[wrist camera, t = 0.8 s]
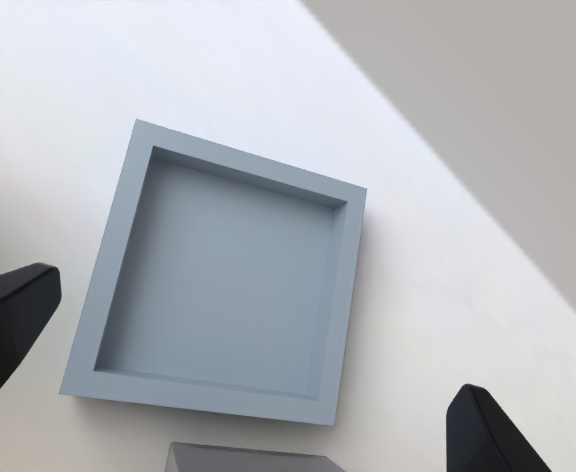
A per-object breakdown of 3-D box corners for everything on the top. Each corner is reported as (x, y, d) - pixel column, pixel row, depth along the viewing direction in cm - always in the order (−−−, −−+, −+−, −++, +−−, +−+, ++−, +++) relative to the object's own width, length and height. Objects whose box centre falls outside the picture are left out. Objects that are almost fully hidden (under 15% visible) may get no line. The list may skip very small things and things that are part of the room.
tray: (313, 413, 22) (333, 426, 20) (68, 383, 19) (58, 394, 17) (345, 199, 25) (367, 188, 23) (136, 139, 22) (136, 118, 19)
